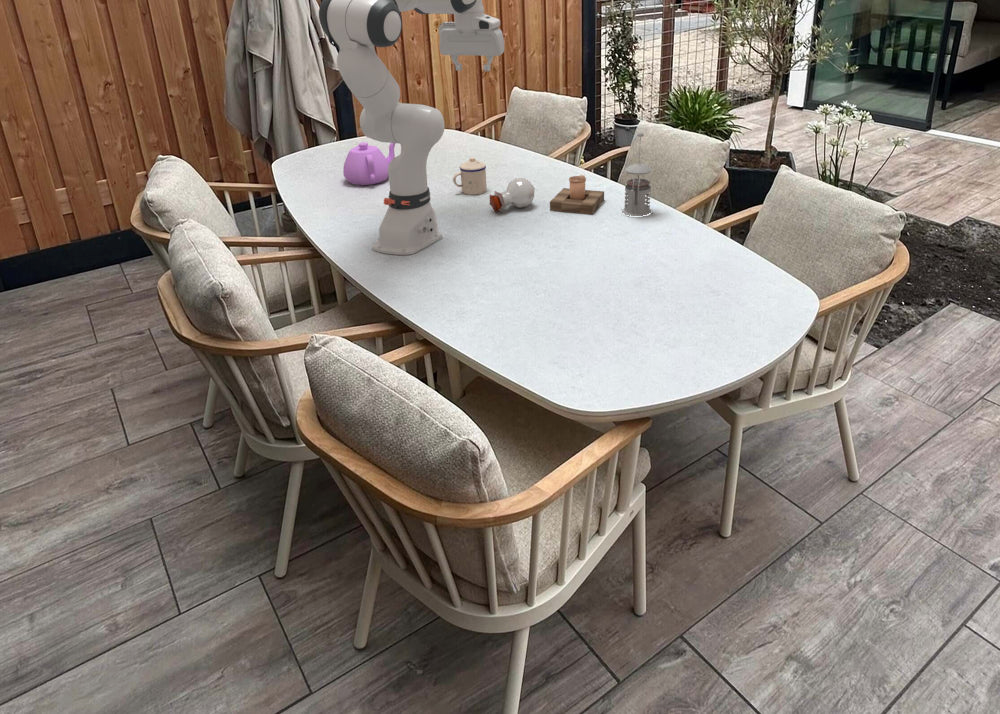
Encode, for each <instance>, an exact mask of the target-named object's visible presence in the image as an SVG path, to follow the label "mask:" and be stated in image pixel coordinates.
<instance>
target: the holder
mask: <svg viewBox="0 0 1000 714" xmlns="http://www.w3.org/2000/svg"><path fill="white" fill-rule="evenodd" d="M604 201H605V191H602V190H592V189H585V200H573V199H570V188H565V187H564V188H562V189H561V190H560V191H559V192H558V193H557V194H556V195H555V196H554V197H553V198H552V199H551V200H550V201H549V211H550V212H560V213H570V214H579V215H589V216H590V215H592V216H593V214H594V213H595V212H596V211H597V210H598V209H599V207H600V206H601V205H602V203H604ZM600 204H601V205H600Z"/></svg>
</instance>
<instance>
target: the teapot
mask: <svg viewBox="0 0 1000 714" xmlns="http://www.w3.org/2000/svg"><path fill="white" fill-rule="evenodd" d="M396 144H397V143H389V145H388V146H389V147H388V155H387V157H386V156H385V155H384V153H383V152H382V151H381V150H380V149H379V147H377V145H369V143H368V142H366V141H365V142H364V141H363V142H360V143H358V144H357V145H356V147H352V148H351V149H349V152H348V154H347V155H346V158H345V160H344V163H343V170H342V171H343V173H342V174H343V177H344V178H345V180H347V182H349V183H350V184H352V185H356V186H368V185H369V186H370V185H376V184H380V183H382V182H384V181H386V180H387V178H389V175H388V166H389V164H390V162H391V161H392V160H393V159H394V158H395V157H396V154H395V146H396Z"/></svg>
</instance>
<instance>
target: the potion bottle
mask: <svg viewBox="0 0 1000 714" xmlns="http://www.w3.org/2000/svg"><path fill="white" fill-rule="evenodd" d="M535 189H536V188H535V187H534V185H533V184H532V182H531V181H530V180H528V179H526V178H524V177H522V178H521V177H520V178H519V177H518V178H517V177H516V178H514V179H513V180H511V181H510V182H508V185H507V187H506V190H505V191H503V192H499V191H496V190H494V192H493V193H494V195H493V194H489V205H490V208H492V210H493V211H494V213H495V214H497V213H498V212H499V211H500V212H501V213H502V212H503V211H504V210H505V209H506V208H507V207H508V206H510V205H512V206H513V207H515V208H516V209H518V208H521V209H522V208H526V207H527V206H529V205H531V204H532V203H533V201H534V199H535Z"/></svg>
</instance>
